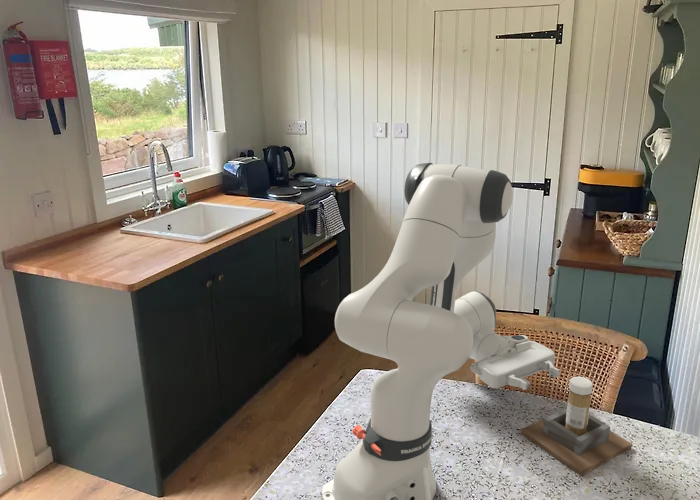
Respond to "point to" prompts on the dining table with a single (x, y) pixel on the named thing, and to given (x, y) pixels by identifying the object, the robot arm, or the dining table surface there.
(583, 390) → the sprinkles bottle
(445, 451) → the dining table surface
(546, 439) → the socket base
